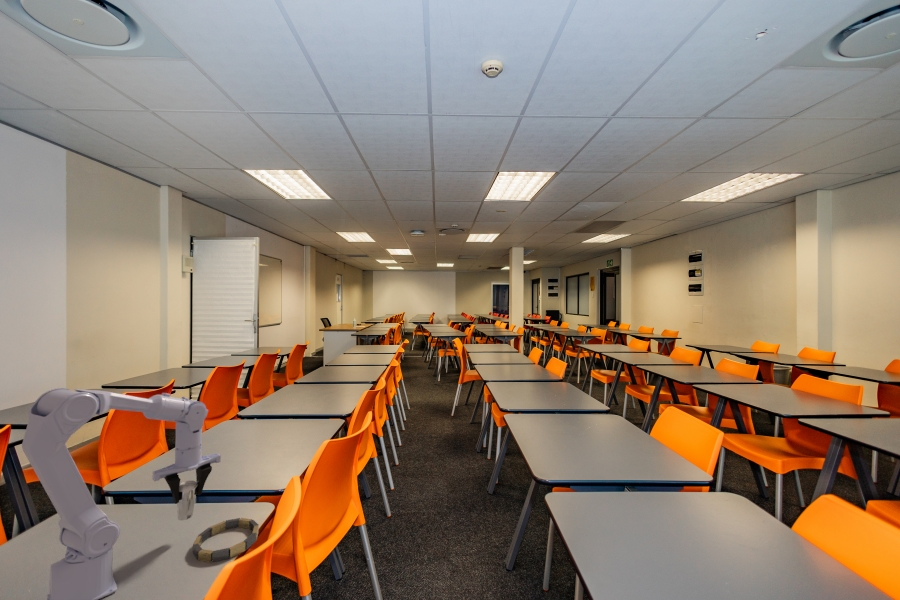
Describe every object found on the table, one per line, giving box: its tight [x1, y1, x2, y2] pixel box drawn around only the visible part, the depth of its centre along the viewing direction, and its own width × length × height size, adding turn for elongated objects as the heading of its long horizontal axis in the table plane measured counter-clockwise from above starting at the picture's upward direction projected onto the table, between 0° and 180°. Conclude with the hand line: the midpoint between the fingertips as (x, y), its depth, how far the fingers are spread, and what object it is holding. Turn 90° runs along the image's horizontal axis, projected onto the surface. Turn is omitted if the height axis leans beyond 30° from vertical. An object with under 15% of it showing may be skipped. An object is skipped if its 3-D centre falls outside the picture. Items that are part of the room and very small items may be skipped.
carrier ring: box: [192, 517, 260, 563], centre depth 93 cm, size 14×14×2 cm
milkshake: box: [176, 480, 199, 521], centre depth 95 cm, size 4×5×10 cm
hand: (187, 497), depth 95 cm, fingers closed on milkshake, 4 cm apart
